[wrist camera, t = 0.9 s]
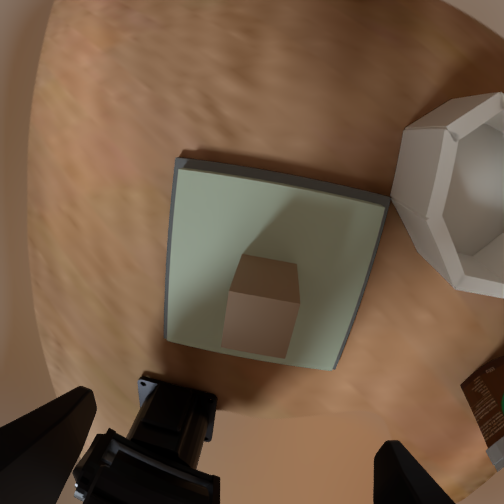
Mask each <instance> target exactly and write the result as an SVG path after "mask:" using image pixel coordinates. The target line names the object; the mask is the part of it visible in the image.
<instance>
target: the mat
mask: <svg viewBox="0 0 504 504" xmlns="http://www.w3.org/2000/svg"><path fill="white" fill-rule="evenodd" d="M180 168H189V169H197V170H204V171H211V172H218V173H224V174H230V175H237V176H243V177H249V178H255V179H261V180H266V181H272V182H277V183H283V184H288V185H293V186H298V187H304V188H309V189H313V190H318V191H323V192H328V193H333V194H337V195H342V196H346V197H351V198H355V199H359V200H364V201H368V202H372V203H376V204H380V205H382V206H383V207H385V210H384V214H383V218H382V222H381V226H380V229H379V233H378V237H377V240H376V244H375V247H374V251H373V254H372V258H371V261H370V264H369V268H368V271H367V274H366V277H365V281H364V284H363V287H362V290H361V293H360V296H359V299H358V302H357V305H356V308H355V311H354V313H353V316H352V319H351V322H350V325H349V327H348V330H347V333H346V336H345V338H344V341H343V343H342V346H341V349H340V351H339V354H338V356H337V359H336V361H335V364H334V366H333V369H336V366H337V364H338V361H339V359H340V356H341V354H342V351H343V349H344V346H345V344H346V341H347V338H348V336H349V333H350V330H351V328H352V325H353V322H354V319H355V317H356V314H357V311H358V308H359V305H360V302H361V299H362V297H363V294H364V291H365V288H366V284H367V281H368V278H369V275H370V272H371V269H372V265H373V262H374V259H375V256H376V252H377V249H378V245H379V242H380V238H381V235H382V231H383V227H384V223H385V220H386V216H387V212H388V208H389V204H390V200H391V198H390V197H388V196H385V195H381V194H377V193H373V192H369V191H365V190H361V189H356V188H352V187H348V186H343V185H339V184H334V183H330V182H325V181H320V180H315V179H311V178H306V177H301V176H296V175H290V174H285V173H280V172H274V171H269V170H263V169H257V168H251V167H245V166H239V165H232V164H226V163H219V162H212V161H205V160H197V159H190V158H181V157H177V158H176V159H175V167H174V176H173V185H172V195H171V206H170V217H169V229H168V243H167V258H166V277H165V302H164V338H165V339H167V319H168V292H169V272H170V256H171V241H172V229H173V217H174V206H175V196H176V187H177V178H178V169H180Z"/></svg>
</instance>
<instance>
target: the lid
mask: <svg viewBox="0 0 504 504" xmlns="http://www.w3.org/2000/svg"><path fill="white" fill-rule="evenodd" d="M384 210H385V207H383V206H382V205H380V204H376V203H372V202H368V201H364V200H359V199H355V198H351V197H346V196H342V195H337V194H333V193H328V192H323V191H318V190H313V189H309V188H304V187H298V186H293V185H288V184H283V183H277V182H272V181H266V180H261V179H255V178H249V177H243V176H237V175H230V174H224V173H218V172H211V171H204V170H197V169H189V168H180V169H178V178H177V187H176V196H175V206H174V217H173V229H172V241H171V256H170V272H169V292H168V319H167V341H170V342H174V343H178V344H182V345H186V346H191V347H195V348H200V349H204V350H209V351H213V352H218V353H223V354H228V355H233V356H238V357H243V358H249V359H254V360H260V361H266V362H272V363H278V364H284V365H291V366H298V367H305V368H312V369H320V370H328V371H332V369H333V366H334V364H335V361H336V359H337V356H338V354H339V351H340V349H341V346H342V343H343V341H344V338H345V336H346V333H347V330H348V327H349V325H350V322H351V319H352V316H353V313H354V311H355V308H356V305H357V302H358V299H359V296H360V293H361V290H362V287H363V284H364V281H365V277H366V274H367V271H368V268H369V264H370V261H371V258H372V254H373V251H374V247H375V244H376V240H377V237H378V233H379V229H380V226H381V222H382V218H383V214H384Z"/></svg>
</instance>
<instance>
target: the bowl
mask: <svg viewBox="0 0 504 504" xmlns="http://www.w3.org/2000/svg"><path fill="white" fill-rule="evenodd" d="M405 129H406V130H403V136H402V141H401V147H400V152H399V157H398V162H397V167H396V171H395V176H394V180H393V185H392V189H391V194H390V196H391V197H392V198H391V201H392V203H393V204H394V206H395V208H396V210H397V212H398V214H399V216H400V218H401V220H402V221H403V223H404V225H405V227H406V229H407V231H408V233H409V235H410V237H411V240H412V242H413V244H414V246H415V248H416V250H417V252H418V253H419V254H420V255H421V256H422V257H423V258H424V259H425V260H426V261H427V262H428V263H429V264H430V265H431V266H432V267H433V268H434V269H435V270H436V271H437V272H438V273H439V274H440V275H441V276H442V277H443V278H444V279H445V280H446V281H447V282H448V283H449V284H450V285H451V286H452V287H453V288H454V289H455V290H461V291H466V292H471V293H477V294H482V295H488V296H493V297H498V298H504V94H503V93H502V92H496V93H488V94H481V95H474V96H468V97H462V98H456V99H451V100H449V101H447V102H446V103H444V104H443V105H441V106H439V107H438V108H436V109H434V110H433V111H431V112H430V113H428V114H426V115H425V116H423V117H422V118H420V119H418V120H417V121H415V122H414V123H412V124H410V125H409V126H407V127H406V128H405Z"/></svg>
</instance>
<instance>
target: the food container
mask: <svg viewBox="0 0 504 504" xmlns="http://www.w3.org/2000/svg"><path fill="white" fill-rule="evenodd" d="M460 386H461V388H462V390H463V392H464V394H465V397H466V399H467V401H468V403H469V405H470V407H471V409H472V412H473V414H474V416H475V418H476V421H477V423H478V425H479V428H480V430H481V432H482V435H483V437H484V439H485V442H486V444H487V447H488V449H487V450H486V453H487V455H488V456H489V458H490V460H491V462H492V464H493V465H495V468H496V470H497V472H498V471H499V470H501V469H502V468H503V467H504V356H502V357H499V358H497V359H494V360H492V361H491V362H489V363H487V364H485V365H484V366H482V367H481V368H479V369H478V370H477V371H475V372H474V373H473V374H472V375H471V376H469V377H468V378H467V379H466V380H465V381H464V382H463V383H462V384H461V385H460Z"/></svg>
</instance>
